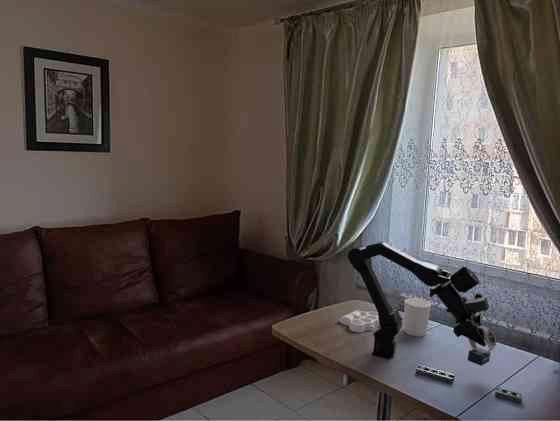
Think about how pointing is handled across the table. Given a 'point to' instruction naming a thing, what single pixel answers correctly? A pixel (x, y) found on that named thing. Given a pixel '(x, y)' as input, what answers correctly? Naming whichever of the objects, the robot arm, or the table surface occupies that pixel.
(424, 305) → the candle holder
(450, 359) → the table surface
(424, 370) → the perforated metal strips
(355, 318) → the white lumpy slab
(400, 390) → the table surface
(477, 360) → the watch
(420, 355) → the table surface
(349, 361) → the table surface
